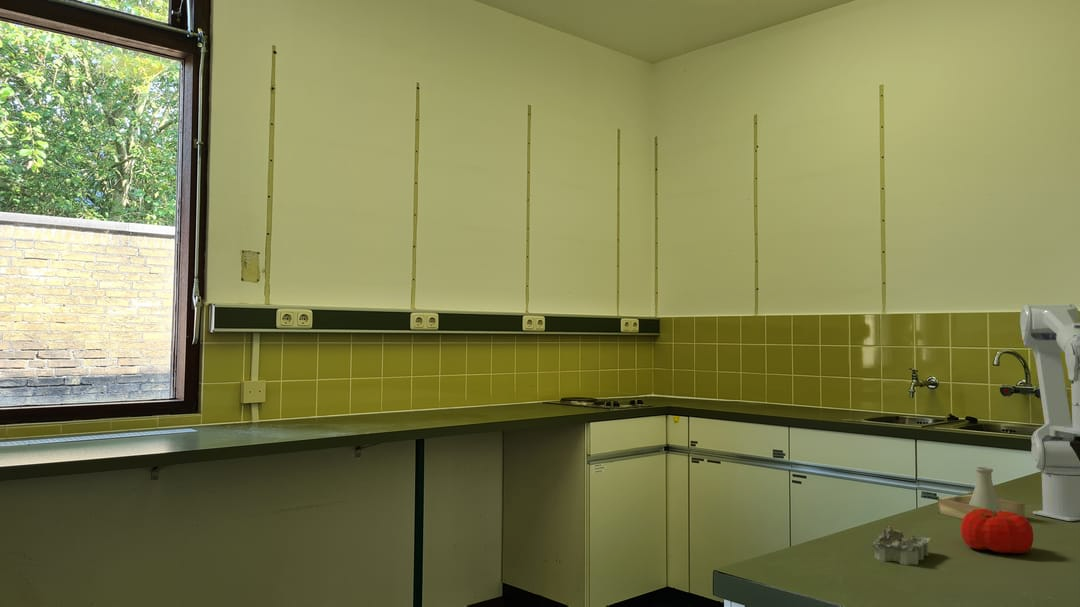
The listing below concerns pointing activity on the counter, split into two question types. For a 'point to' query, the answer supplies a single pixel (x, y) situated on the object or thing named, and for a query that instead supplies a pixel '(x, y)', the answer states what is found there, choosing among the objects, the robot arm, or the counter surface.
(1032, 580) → the counter surface
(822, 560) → the counter surface
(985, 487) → the flask
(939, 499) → the oak frame
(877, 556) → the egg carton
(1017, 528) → the tomato
